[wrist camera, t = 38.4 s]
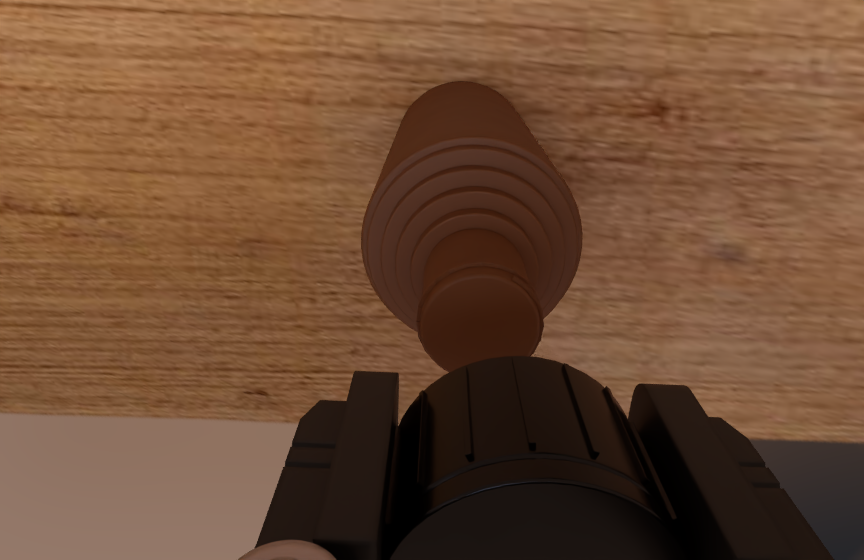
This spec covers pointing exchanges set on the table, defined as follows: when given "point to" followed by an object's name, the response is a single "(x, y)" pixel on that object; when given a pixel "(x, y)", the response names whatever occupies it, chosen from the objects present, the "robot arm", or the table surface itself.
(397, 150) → the bottle
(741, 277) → the table surface
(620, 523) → the cap
